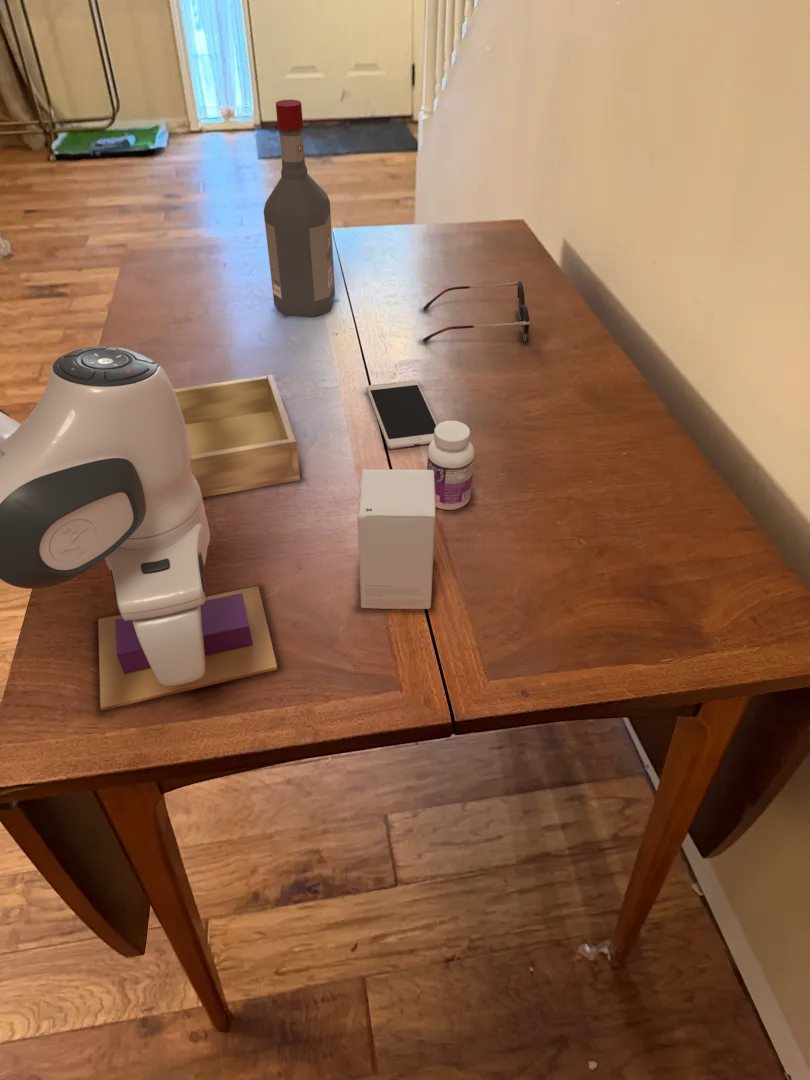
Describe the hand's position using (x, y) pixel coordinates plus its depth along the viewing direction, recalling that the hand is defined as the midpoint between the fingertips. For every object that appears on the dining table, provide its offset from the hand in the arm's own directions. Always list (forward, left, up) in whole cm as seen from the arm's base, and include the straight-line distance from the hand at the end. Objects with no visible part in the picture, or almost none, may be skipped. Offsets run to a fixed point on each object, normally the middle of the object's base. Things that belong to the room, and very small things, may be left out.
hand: (184, 636), depth 74 cm
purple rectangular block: (0, 0, -1) cm, 1 cm away
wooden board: (0, 0, -2) cm, 2 cm away
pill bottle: (+32, +14, -2) cm, 35 cm away
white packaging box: (+22, +2, -2) cm, 22 cm away
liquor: (+26, +68, -2) cm, 73 cm away
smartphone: (+32, +32, -2) cm, 45 cm away
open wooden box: (+6, +30, -2) cm, 31 cm away
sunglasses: (+50, +53, -2) cm, 73 cm away
